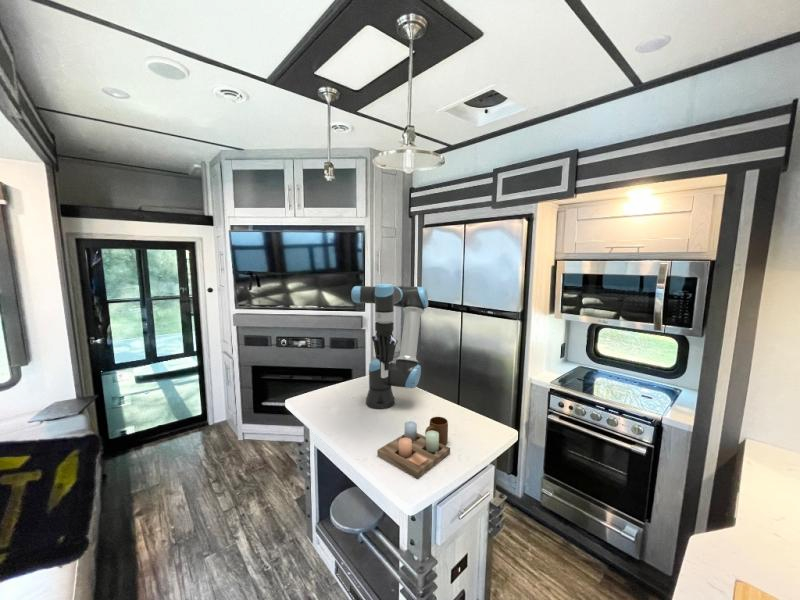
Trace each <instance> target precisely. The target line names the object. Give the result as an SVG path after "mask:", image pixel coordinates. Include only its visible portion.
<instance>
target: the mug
mask: <svg viewBox="0 0 800 600" xmlns="http://www.w3.org/2000/svg"><path fill="white" fill-rule="evenodd" d="M431 430H432V431H437V432H438V433H439V443H440V444H443V445H445V446H447V443H448V440H449V437H448V436H449V421H448V419H447V418H445V417H443V416H433V417H431V418H430V419H429V426H427V427H426V429H425V432H424V433H425V434H424V436H426V432H427V431H431Z"/></svg>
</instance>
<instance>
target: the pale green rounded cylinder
mask: <svg viewBox="0 0 800 600" xmlns="http://www.w3.org/2000/svg"><path fill="white" fill-rule="evenodd" d="M425 437H426V450H427V452H429V453H437V451H438V450H439V433H438V432H437V431H432V430H431V431H427V432H426V435H425Z"/></svg>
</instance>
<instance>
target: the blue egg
mask: <svg viewBox="0 0 800 600" xmlns="http://www.w3.org/2000/svg"><path fill="white" fill-rule="evenodd" d="M417 424H418V423H417V422H415V421H412V420H409V421H406V422H404V431H403V432H404V433H403V434H404V438H410V439H411V440H412V442H415V440H416V439H417V433H418V430H417V429H418V427H417V426H418V425H417Z"/></svg>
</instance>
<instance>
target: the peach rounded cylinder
mask: <svg viewBox="0 0 800 600" xmlns="http://www.w3.org/2000/svg"><path fill="white" fill-rule="evenodd" d="M412 443H413V441H412V440H411V439H410V438H401V439H399V456H401V457H403V458H405V459H407V458H408V457H410V456H411V455H412Z"/></svg>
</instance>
